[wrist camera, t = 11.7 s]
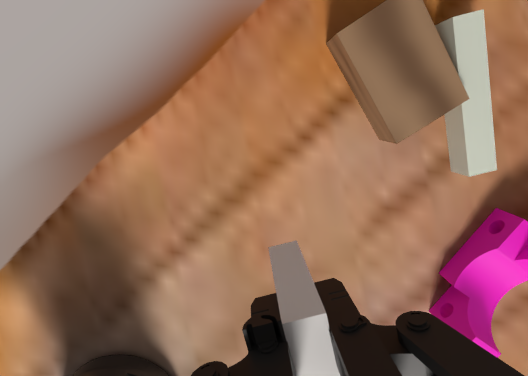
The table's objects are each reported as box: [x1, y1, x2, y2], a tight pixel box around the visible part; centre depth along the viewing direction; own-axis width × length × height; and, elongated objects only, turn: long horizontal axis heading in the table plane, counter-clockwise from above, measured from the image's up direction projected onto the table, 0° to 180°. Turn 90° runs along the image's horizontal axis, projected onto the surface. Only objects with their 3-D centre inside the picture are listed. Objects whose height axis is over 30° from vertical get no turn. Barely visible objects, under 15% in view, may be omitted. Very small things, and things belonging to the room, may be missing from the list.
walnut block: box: [326, 0, 469, 144], centre depth 34 cm, size 8×12×5 cm, turn 33°
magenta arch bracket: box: [429, 208, 528, 358], centre depth 38 cm, size 15×6×8 cm, turn 145°
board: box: [435, 9, 497, 177], centre depth 36 cm, size 3×16×4 cm, turn 14°
